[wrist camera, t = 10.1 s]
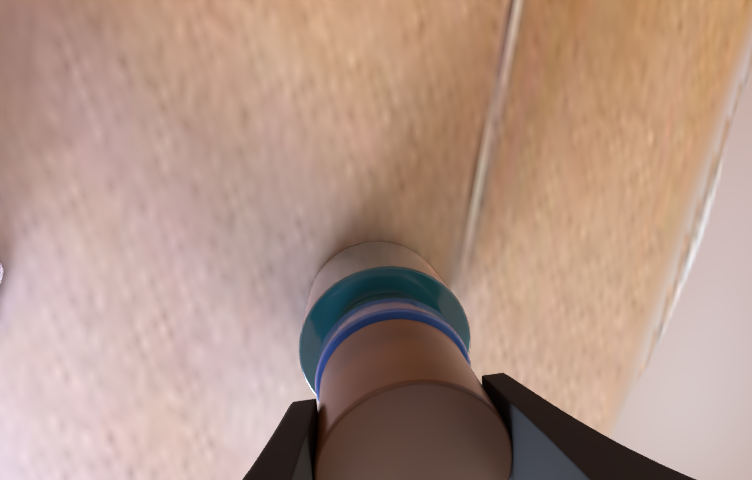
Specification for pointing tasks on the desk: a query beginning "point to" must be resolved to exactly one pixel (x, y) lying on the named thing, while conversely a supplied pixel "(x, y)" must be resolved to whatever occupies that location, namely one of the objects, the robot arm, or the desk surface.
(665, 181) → the desk surface
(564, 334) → the desk surface
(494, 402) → the robot arm
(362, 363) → the brown short cylinder
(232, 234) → the desk surface
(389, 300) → the ink bottle
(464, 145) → the desk surface
